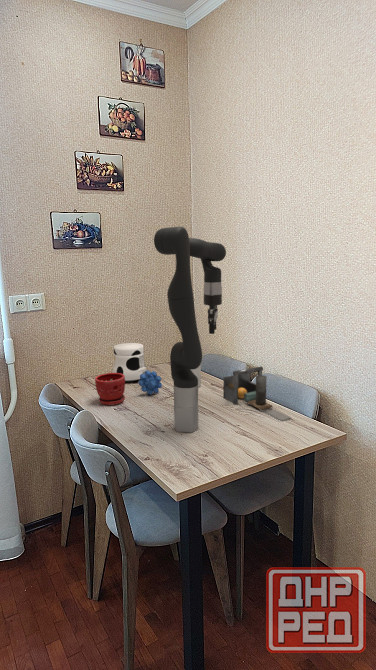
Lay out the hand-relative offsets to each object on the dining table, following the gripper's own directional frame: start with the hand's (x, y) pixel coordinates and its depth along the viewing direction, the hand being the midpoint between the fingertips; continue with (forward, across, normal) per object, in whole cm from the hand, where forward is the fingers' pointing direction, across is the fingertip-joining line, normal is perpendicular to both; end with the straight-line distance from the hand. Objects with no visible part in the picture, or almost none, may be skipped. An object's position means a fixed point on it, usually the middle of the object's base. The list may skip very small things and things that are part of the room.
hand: (212, 331), depth 189 cm
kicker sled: (+32, -3, +19) cm, 38 cm away
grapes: (+33, -12, -30) cm, 46 cm away
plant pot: (+33, -1, -46) cm, 57 cm away
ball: (+31, -12, +12) cm, 35 cm away
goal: (+33, -12, +12) cm, 37 cm away
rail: (+33, +7, +26) cm, 43 cm away
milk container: (+33, -36, -47) cm, 68 cm away
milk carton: (+33, -26, -13) cm, 44 cm away
